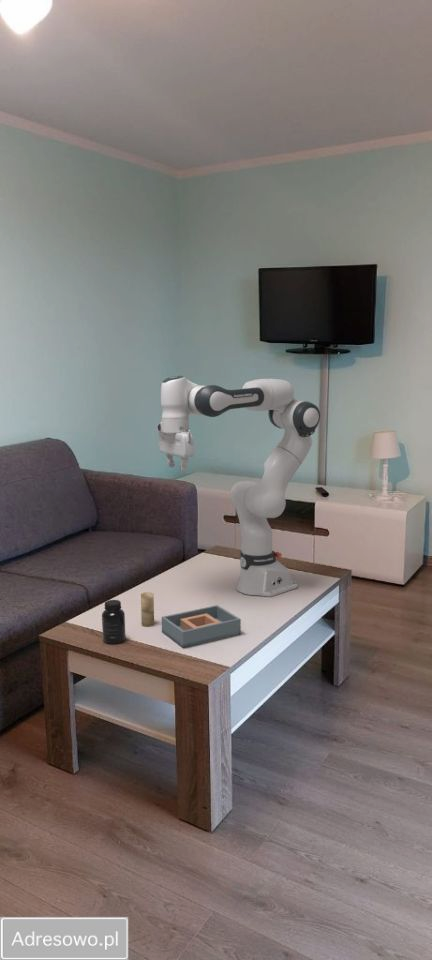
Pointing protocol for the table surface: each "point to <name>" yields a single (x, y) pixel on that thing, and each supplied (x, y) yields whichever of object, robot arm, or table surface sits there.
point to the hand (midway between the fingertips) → (177, 468)
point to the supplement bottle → (113, 622)
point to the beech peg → (147, 609)
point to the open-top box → (201, 626)
